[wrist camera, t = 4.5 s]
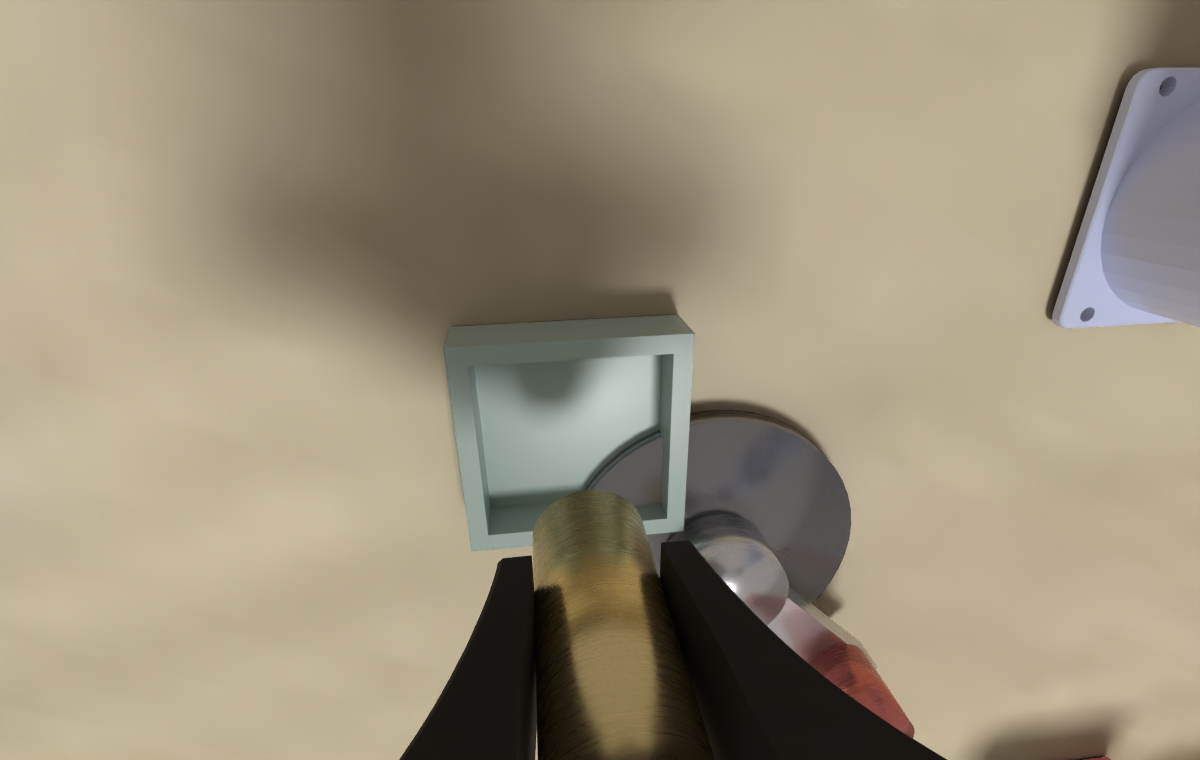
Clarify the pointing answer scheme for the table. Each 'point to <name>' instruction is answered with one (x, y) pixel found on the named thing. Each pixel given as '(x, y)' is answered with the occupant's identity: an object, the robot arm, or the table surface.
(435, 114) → the table surface
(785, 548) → the dark gray disc
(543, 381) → the tray
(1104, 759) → the ink cartridge box
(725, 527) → the crank
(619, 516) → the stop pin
